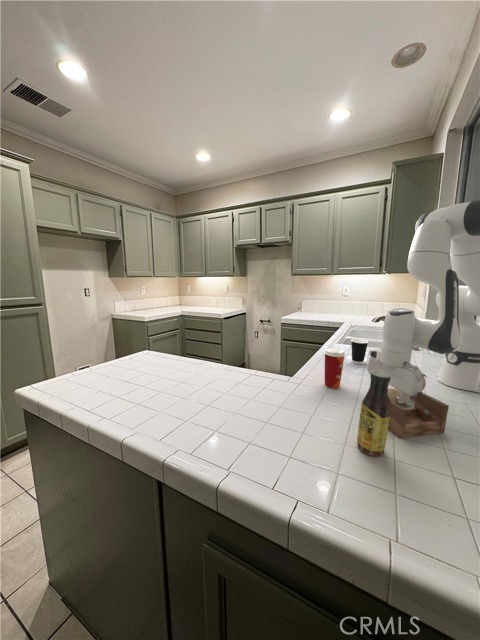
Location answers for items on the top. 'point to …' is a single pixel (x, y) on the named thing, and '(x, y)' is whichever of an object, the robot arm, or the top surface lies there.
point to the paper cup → (333, 366)
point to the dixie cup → (358, 350)
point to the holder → (418, 417)
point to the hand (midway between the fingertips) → (390, 396)
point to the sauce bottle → (375, 415)
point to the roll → (396, 395)
